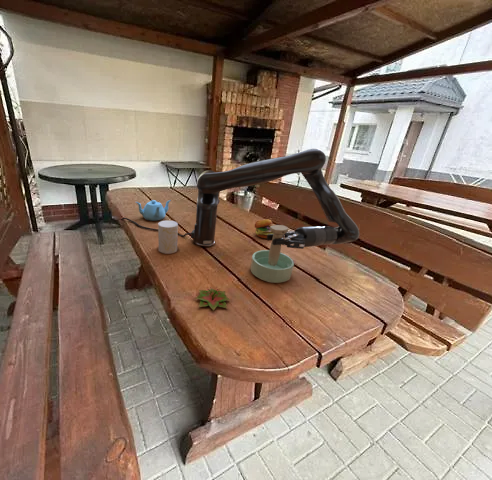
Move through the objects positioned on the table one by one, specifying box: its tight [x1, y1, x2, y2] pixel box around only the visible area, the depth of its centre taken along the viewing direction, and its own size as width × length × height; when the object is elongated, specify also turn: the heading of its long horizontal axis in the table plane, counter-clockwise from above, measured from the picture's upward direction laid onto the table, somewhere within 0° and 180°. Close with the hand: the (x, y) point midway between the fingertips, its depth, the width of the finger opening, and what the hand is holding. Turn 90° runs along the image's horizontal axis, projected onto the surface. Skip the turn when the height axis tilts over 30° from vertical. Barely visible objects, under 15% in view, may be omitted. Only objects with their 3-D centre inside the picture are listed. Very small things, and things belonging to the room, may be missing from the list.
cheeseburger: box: [254, 218, 274, 239], centre depth 136 cm, size 10×11×10 cm
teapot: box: [135, 199, 172, 222], centre depth 148 cm, size 15×15×10 cm
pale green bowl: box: [250, 249, 295, 284], centre depth 101 cm, size 16×16×6 cm
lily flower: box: [195, 286, 231, 312], centre depth 83 cm, size 12×12×5 cm
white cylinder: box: [157, 220, 179, 255], centre depth 112 cm, size 8×8×12 cm
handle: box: [268, 224, 289, 266], centre depth 96 cm, size 5×6×15 cm
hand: (270, 239), depth 93 cm, fingers closed on handle, 3 cm apart
